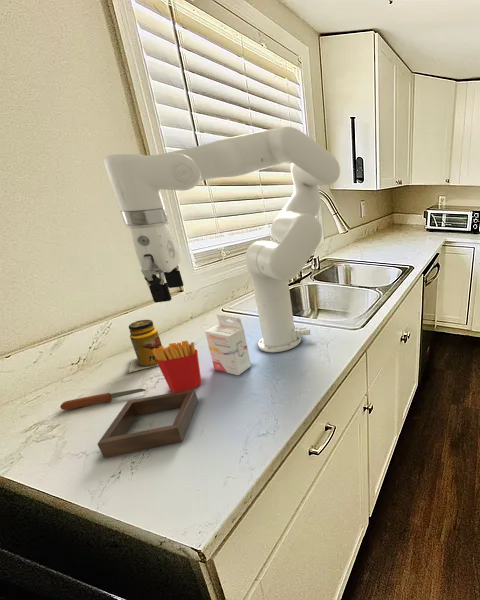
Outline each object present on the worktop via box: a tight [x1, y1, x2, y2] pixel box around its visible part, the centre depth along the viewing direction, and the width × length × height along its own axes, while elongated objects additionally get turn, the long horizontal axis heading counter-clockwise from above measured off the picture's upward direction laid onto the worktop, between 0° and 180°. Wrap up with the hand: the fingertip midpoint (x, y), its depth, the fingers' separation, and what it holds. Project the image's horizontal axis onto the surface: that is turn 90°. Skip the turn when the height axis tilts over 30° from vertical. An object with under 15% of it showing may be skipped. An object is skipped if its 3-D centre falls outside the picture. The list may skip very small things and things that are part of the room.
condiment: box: [128, 319, 163, 373], centre depth 89 cm, size 7×8×12 cm
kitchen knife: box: [59, 388, 147, 411], centre depth 75 cm, size 16×1×2 cm, turn 112°
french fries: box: [152, 340, 202, 393], centre depth 79 cm, size 8×4×12 cm, turn 115°
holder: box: [97, 388, 199, 459], centre depth 67 cm, size 13×13×4 cm
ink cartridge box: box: [204, 313, 252, 376], centre depth 85 cm, size 9×5×15 cm, turn 71°
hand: (170, 293), depth 75 cm, fingers open, 9 cm apart
